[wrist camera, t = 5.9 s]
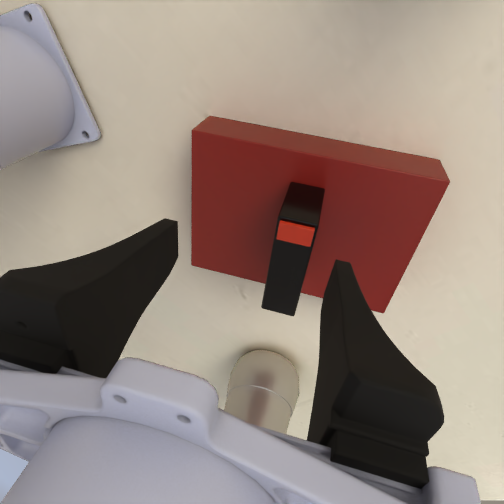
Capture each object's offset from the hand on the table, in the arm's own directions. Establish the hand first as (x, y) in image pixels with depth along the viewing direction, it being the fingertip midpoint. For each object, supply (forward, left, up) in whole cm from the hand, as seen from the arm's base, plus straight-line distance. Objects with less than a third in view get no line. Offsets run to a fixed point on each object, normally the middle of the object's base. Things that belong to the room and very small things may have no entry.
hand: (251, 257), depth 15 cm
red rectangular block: (+1, -3, -9) cm, 10 cm away
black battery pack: (+1, -3, -6) cm, 7 cm away
